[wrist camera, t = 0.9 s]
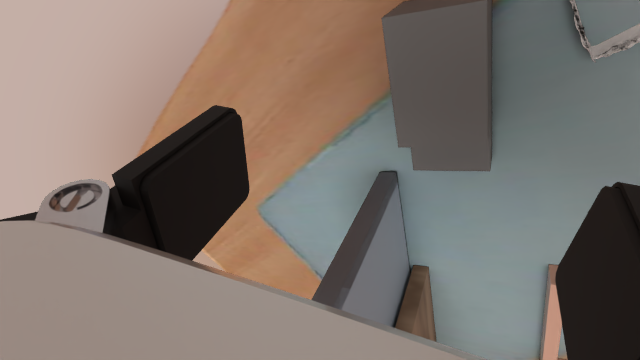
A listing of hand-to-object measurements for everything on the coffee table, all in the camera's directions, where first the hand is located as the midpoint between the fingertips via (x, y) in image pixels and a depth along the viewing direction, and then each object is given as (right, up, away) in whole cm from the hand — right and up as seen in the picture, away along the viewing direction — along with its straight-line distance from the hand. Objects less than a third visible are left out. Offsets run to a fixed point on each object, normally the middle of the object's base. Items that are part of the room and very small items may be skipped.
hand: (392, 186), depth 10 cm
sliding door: (+6, -6, +30) cm, 31 cm away
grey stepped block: (+8, +8, +20) cm, 23 cm away
